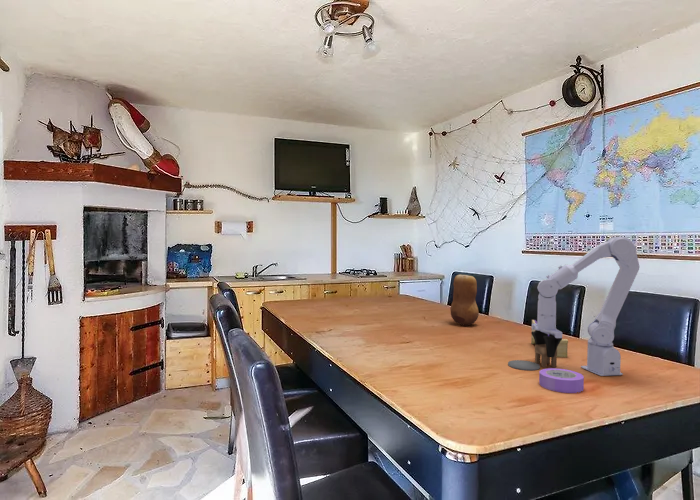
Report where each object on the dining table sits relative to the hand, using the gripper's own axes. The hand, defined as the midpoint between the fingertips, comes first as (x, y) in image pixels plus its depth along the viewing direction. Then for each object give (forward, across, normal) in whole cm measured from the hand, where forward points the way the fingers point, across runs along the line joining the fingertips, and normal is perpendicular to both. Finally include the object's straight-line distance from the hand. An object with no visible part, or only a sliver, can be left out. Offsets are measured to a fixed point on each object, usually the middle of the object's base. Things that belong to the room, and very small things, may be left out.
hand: (545, 354), depth 150 cm
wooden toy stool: (+4, 0, 0) cm, 4 cm away
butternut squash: (+4, -70, +1) cm, 70 cm away
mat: (+4, 0, -8) cm, 9 cm away
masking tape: (+4, +20, -8) cm, 22 cm away
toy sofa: (+4, -19, +13) cm, 23 cm away
